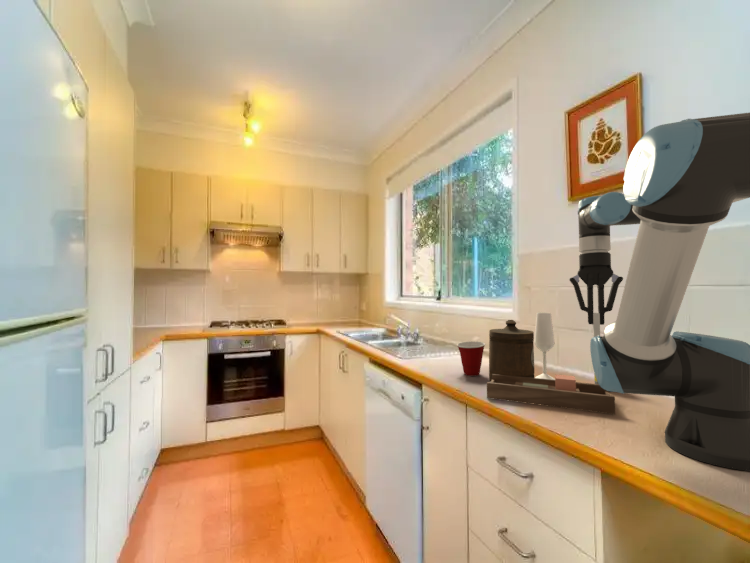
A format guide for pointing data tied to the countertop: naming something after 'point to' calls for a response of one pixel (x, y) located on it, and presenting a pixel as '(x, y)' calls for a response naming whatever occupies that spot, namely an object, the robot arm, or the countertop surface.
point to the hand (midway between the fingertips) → (596, 336)
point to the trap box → (550, 393)
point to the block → (565, 383)
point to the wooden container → (511, 351)
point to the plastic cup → (471, 357)
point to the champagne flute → (544, 338)
